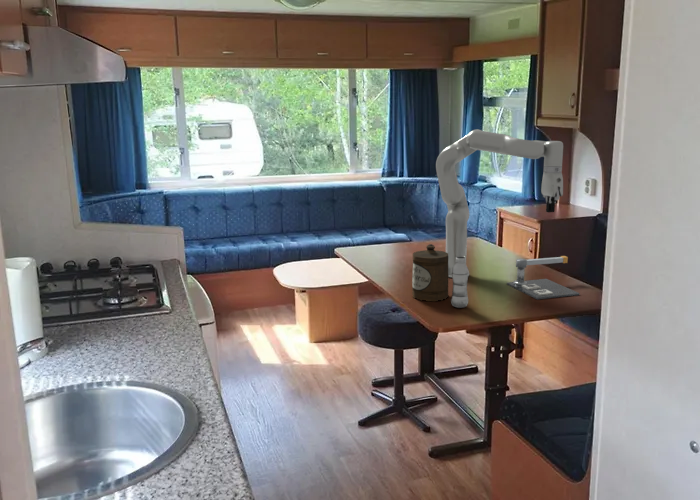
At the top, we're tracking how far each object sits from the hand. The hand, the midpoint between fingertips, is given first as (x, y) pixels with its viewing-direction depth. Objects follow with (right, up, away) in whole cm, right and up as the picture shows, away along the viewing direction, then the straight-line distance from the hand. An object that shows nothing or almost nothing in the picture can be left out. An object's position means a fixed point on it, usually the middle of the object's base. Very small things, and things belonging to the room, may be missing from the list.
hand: (550, 211), depth 280 cm
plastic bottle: (-45, -39, -30) cm, 67 cm away
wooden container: (-55, -36, -15) cm, 67 cm away
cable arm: (-4, -23, 0) cm, 24 cm away
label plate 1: (-10, -33, -6) cm, 36 cm away
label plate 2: (-8, -35, -15) cm, 39 cm away
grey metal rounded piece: (-13, -32, 0) cm, 35 cm away
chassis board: (-6, -34, -7) cm, 35 cm away
